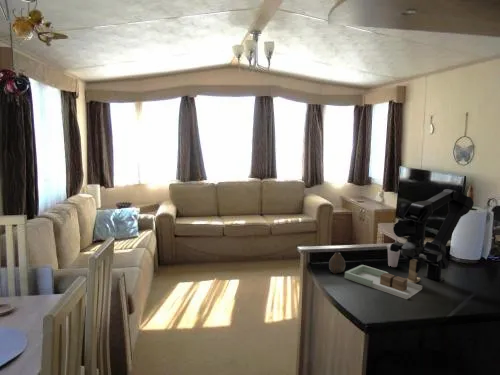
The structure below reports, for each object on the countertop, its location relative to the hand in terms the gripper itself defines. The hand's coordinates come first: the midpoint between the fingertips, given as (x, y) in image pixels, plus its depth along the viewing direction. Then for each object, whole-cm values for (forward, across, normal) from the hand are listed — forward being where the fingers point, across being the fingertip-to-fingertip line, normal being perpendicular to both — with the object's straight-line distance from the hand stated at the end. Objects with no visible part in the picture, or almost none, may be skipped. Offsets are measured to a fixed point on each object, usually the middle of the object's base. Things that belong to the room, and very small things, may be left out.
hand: (413, 271), depth 150 cm
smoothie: (+5, -15, +14) cm, 21 cm away
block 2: (+4, 0, -12) cm, 13 cm away
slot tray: (+5, -7, -12) cm, 15 cm away
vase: (+5, -27, -14) cm, 31 cm away
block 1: (+4, -5, -12) cm, 14 cm away
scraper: (+5, 0, 0) cm, 5 cm away
